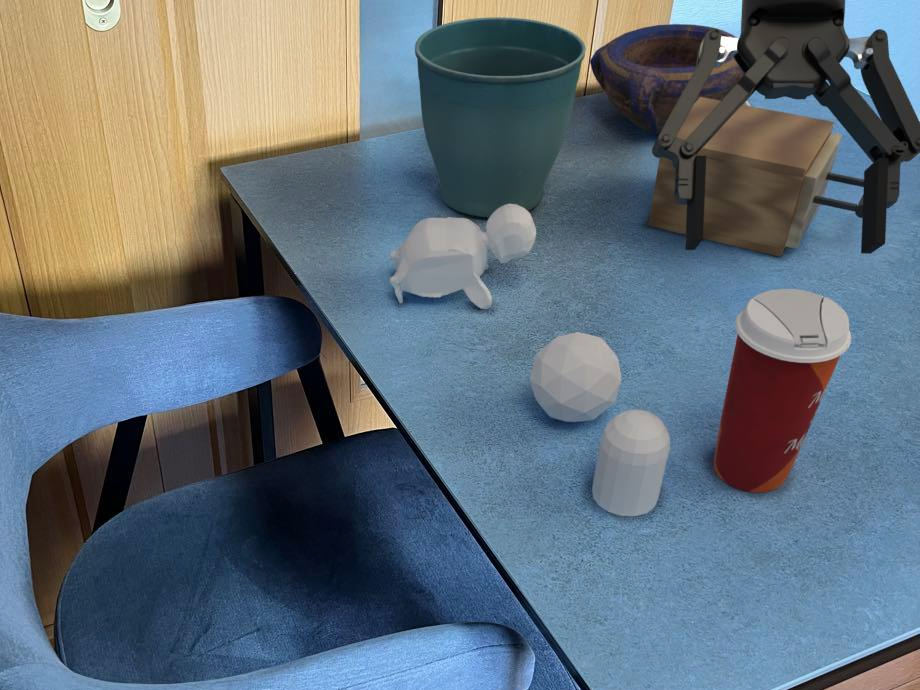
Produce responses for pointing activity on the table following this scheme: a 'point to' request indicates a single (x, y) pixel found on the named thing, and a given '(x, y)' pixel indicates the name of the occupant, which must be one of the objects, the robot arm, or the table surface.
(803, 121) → the cabinet
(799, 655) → the table surface
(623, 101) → the bowl
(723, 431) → the coffee cup
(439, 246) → the white turtle figurine
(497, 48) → the flower pot
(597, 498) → the capsule
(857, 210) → the drawer
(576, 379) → the geometric ball
